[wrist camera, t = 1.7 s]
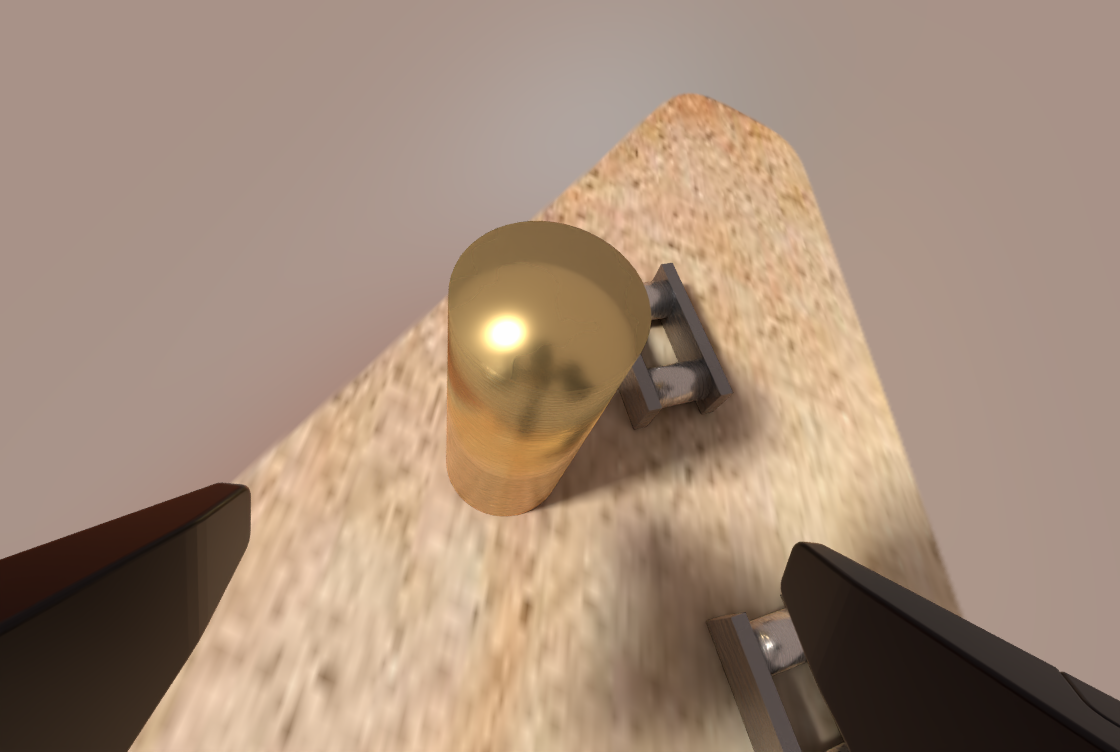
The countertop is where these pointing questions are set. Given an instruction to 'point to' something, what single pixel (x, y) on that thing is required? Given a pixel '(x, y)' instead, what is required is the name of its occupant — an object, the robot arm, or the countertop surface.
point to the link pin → (534, 357)
